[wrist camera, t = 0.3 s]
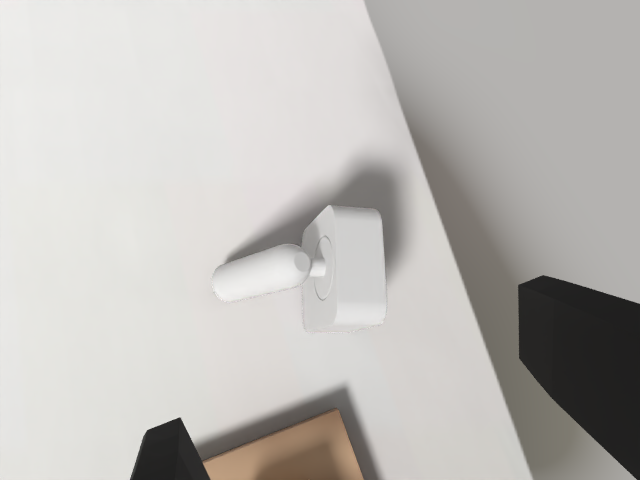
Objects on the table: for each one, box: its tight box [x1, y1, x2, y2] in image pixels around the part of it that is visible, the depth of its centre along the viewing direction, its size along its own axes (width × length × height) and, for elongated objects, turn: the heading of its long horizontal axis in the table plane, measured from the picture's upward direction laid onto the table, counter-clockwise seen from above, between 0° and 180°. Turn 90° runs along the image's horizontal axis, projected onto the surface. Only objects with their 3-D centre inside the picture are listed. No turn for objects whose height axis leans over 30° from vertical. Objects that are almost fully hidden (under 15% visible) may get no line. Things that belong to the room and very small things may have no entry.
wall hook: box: [212, 205, 387, 333], centre depth 35 cm, size 8×10×10 cm
